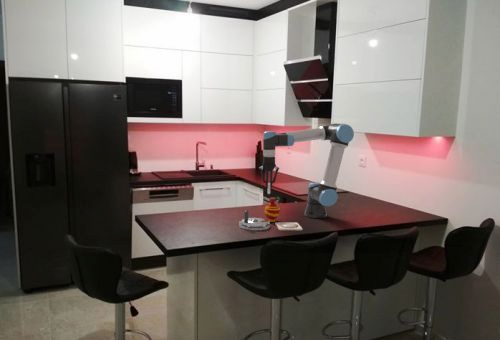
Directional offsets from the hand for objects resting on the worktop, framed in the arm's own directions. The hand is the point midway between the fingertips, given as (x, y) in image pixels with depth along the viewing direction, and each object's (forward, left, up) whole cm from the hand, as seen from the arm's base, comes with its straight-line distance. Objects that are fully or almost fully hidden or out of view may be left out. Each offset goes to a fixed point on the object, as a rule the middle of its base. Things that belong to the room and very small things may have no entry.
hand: (268, 193), depth 259 cm
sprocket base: (+10, +9, -19) cm, 23 cm away
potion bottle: (-3, -5, -19) cm, 20 cm away
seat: (-11, +10, -19) cm, 24 cm away
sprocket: (+10, +9, -18) cm, 22 cm away
